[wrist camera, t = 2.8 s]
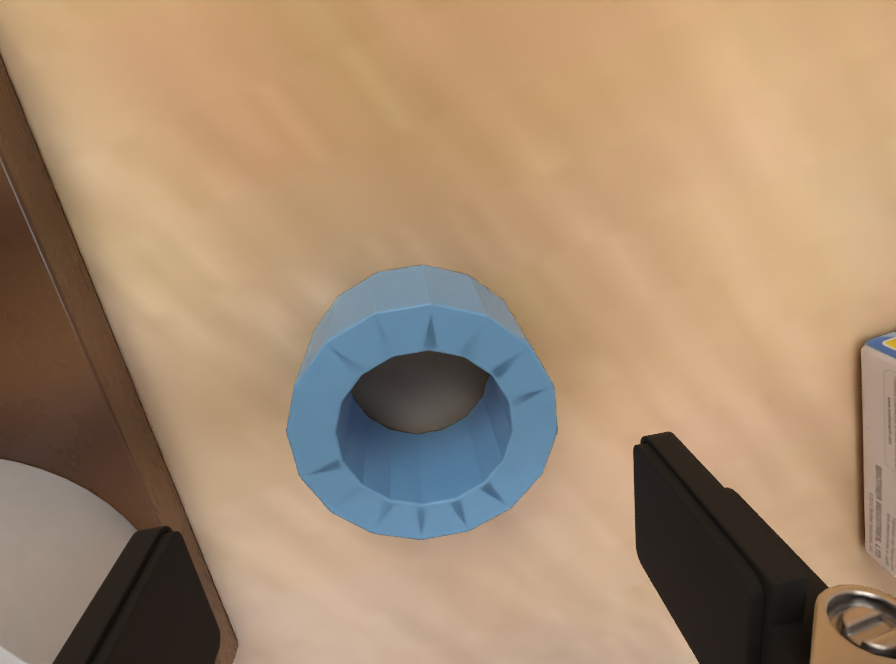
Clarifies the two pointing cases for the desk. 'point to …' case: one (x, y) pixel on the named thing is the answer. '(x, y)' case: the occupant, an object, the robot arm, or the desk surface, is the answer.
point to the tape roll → (432, 453)
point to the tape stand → (65, 424)
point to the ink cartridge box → (880, 448)
